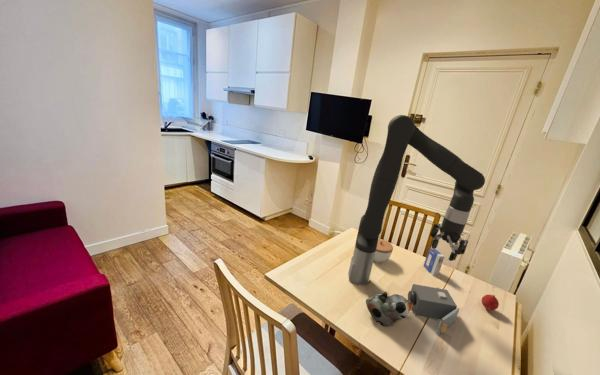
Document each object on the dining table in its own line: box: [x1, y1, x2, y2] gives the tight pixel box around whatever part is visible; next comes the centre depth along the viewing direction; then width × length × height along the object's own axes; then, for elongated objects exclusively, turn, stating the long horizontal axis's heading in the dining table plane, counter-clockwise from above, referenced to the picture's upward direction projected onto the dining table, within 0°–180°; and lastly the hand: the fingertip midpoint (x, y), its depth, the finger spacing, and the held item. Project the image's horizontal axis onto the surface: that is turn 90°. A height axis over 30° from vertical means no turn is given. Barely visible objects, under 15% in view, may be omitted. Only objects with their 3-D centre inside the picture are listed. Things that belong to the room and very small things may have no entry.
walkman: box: [423, 247, 445, 277], centre depth 127 cm, size 8×3×12 cm, turn 11°
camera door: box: [436, 307, 460, 335], centre depth 93 cm, size 12×2×7 cm, turn 123°
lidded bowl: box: [373, 238, 394, 264], centre depth 133 cm, size 13×13×11 cm
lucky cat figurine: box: [365, 291, 414, 327], centre depth 95 cm, size 15×12×14 cm
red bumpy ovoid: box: [481, 294, 500, 311], centre depth 106 cm, size 6×6×8 cm
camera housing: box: [407, 283, 458, 321], centre depth 102 cm, size 16×9×9 cm, turn 83°
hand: (442, 253), depth 102 cm, fingers open, 8 cm apart
